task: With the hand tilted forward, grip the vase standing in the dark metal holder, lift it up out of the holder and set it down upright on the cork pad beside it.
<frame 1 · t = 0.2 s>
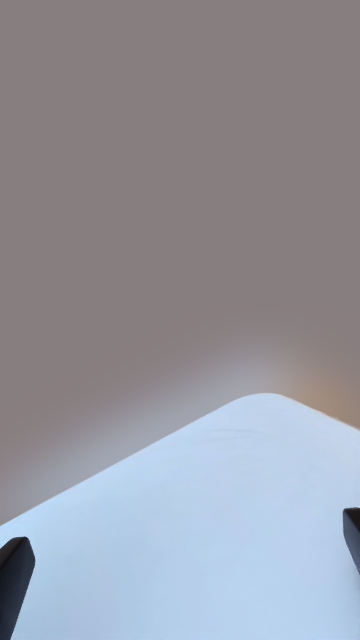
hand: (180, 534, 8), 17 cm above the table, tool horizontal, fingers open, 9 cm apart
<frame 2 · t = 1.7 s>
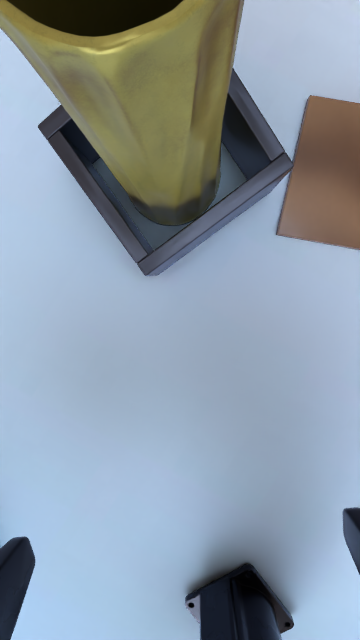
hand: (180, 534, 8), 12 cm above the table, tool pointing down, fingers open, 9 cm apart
holder: (171, 176, 18), on the table
cork pad: (354, 180, 18), on the table
vase: (172, 177, 18), resting in holder
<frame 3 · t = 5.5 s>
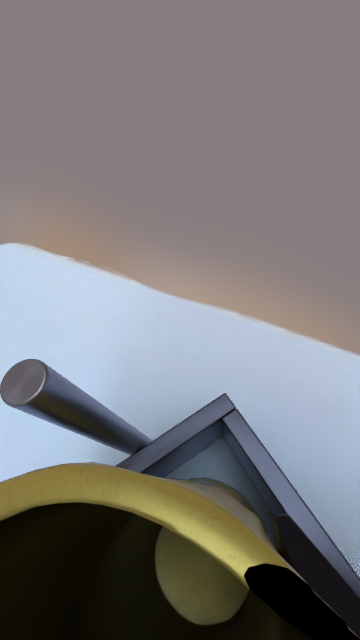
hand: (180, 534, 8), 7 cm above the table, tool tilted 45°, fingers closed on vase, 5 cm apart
holder: (204, 553, 13), on the table
vase: (204, 552, 13), resting in holder, touching gripper
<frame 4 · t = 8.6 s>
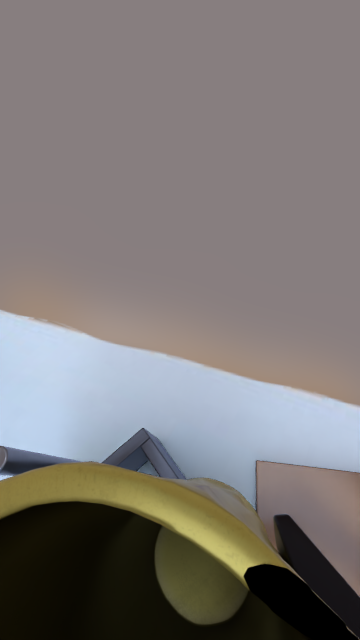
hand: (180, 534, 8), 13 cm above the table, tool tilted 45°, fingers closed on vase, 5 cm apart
holder: (143, 540, 19), on the table
cork pad: (323, 540, 18), on the table
vase: (203, 552, 13), point 6 cm above the table, touching gripper
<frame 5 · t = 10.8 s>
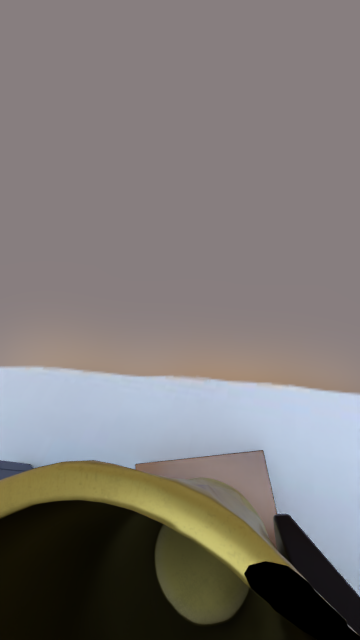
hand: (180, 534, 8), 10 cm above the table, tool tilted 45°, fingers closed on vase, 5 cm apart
holder: (10, 590, 16), on the table
cork pad: (207, 536, 16), on the table
vase: (204, 552, 13), point 3 cm above the table, touching gripper
when the fingers open (8 cm above the table, at t = 12.0 s): vase stays where it is, resting on cork pad.
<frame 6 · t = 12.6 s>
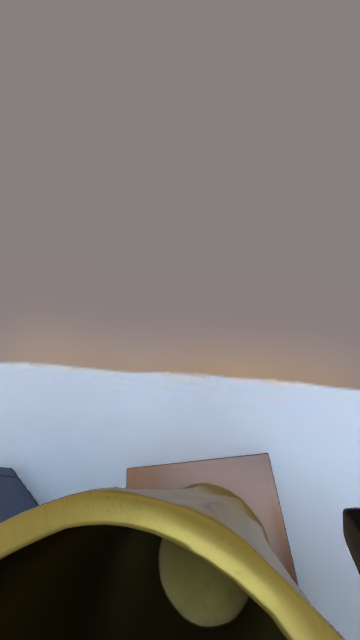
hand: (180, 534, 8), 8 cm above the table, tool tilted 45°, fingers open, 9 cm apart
cork pad: (205, 550, 14), on the table
vase: (206, 556, 14), resting on cork pad
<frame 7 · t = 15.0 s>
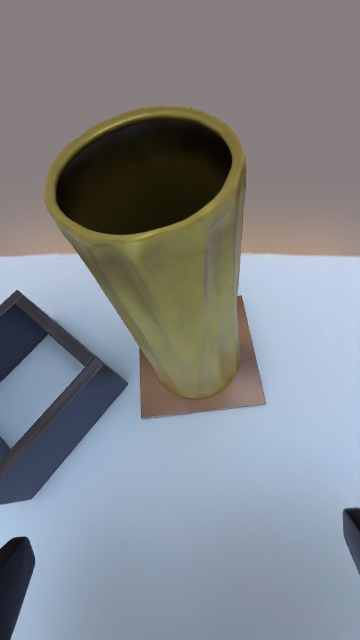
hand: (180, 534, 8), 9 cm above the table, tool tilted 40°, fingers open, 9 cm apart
holder: (43, 396, 20), on the table
cork pad: (195, 354, 20), on the table
vase: (195, 355, 20), resting on cork pad
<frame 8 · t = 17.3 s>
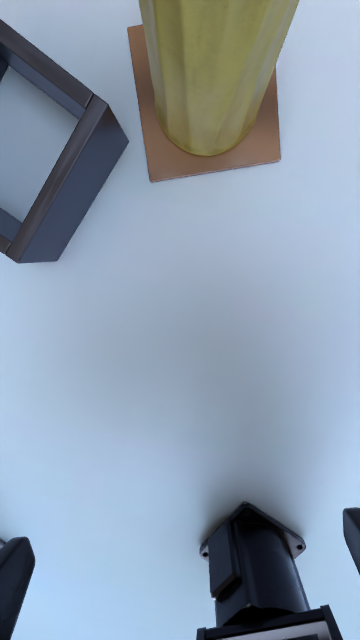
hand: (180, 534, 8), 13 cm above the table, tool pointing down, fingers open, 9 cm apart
holder: (32, 160, 18), on the table
cork pad: (206, 99, 17), on the table
vase: (206, 100, 17), resting on cork pad
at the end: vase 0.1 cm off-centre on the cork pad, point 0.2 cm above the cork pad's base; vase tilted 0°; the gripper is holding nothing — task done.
